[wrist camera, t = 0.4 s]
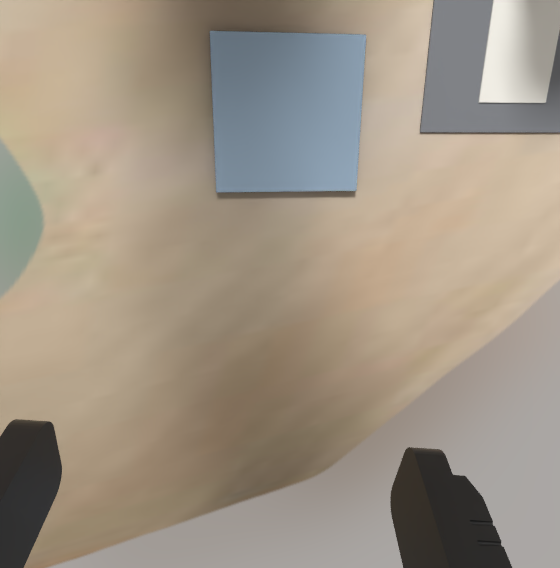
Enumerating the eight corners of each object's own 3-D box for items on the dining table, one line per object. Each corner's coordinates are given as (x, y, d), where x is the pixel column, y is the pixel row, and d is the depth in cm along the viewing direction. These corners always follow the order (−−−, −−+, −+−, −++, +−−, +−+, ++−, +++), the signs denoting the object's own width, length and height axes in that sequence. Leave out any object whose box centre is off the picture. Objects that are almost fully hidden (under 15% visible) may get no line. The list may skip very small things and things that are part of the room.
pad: (209, 32, 29) (209, 30, 29) (364, 35, 31) (366, 34, 30) (216, 191, 33) (216, 192, 32) (354, 189, 34) (356, 190, 34)
